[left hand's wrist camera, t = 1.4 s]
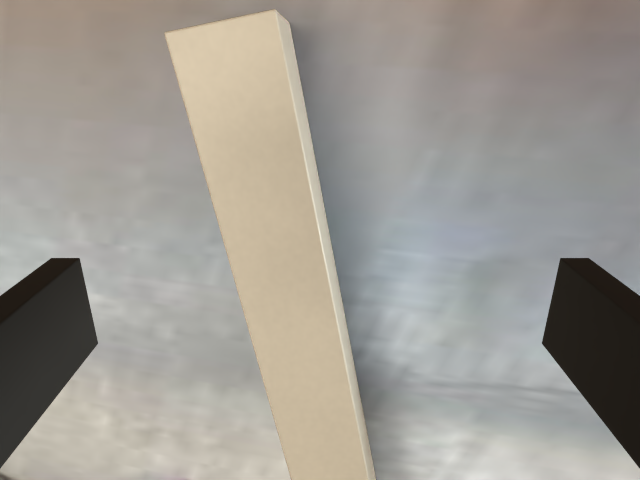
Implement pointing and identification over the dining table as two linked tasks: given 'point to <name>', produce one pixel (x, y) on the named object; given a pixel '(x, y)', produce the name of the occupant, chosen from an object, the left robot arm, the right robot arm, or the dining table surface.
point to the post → (276, 234)
